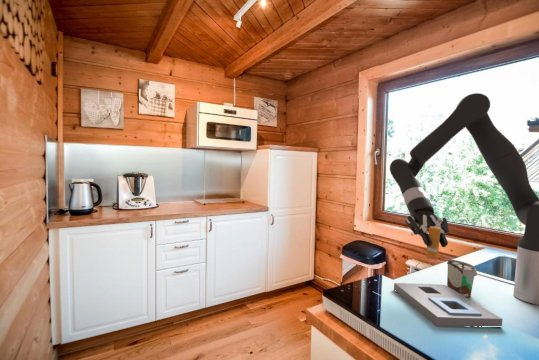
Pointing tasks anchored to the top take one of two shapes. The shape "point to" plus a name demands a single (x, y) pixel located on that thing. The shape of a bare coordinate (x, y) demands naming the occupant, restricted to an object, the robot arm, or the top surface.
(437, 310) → the board
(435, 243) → the supplement box
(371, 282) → the top surface
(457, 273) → the food container
